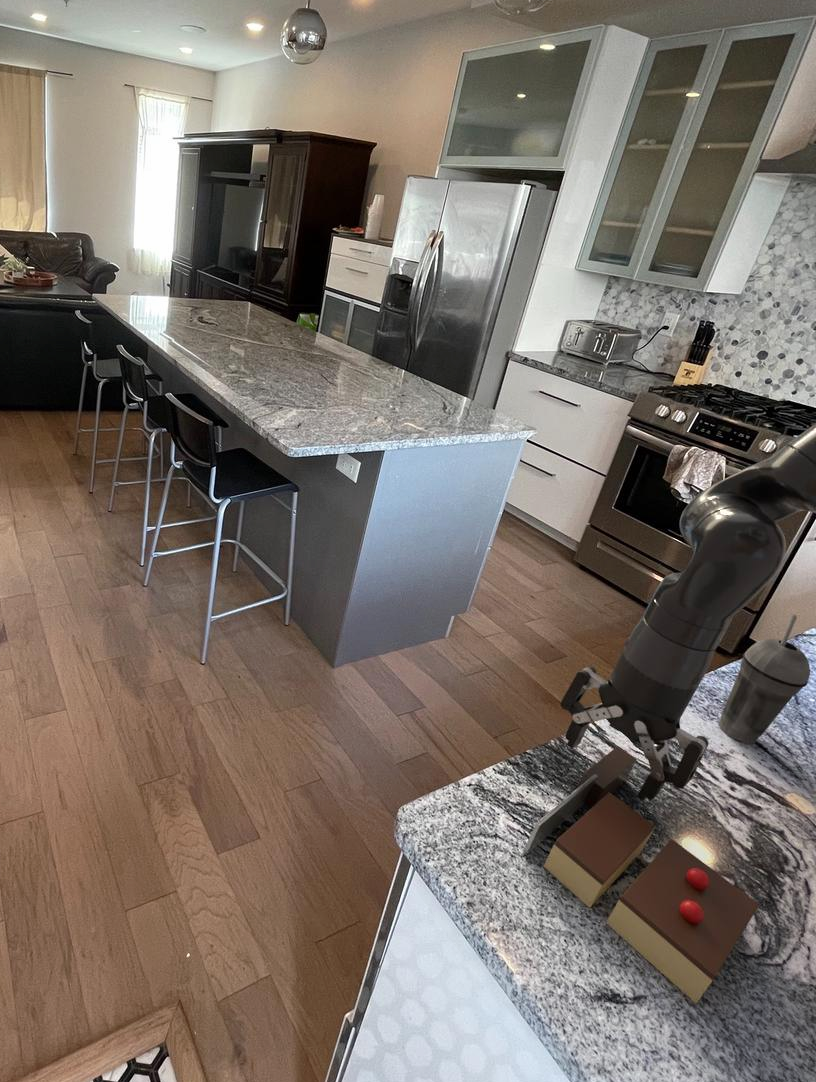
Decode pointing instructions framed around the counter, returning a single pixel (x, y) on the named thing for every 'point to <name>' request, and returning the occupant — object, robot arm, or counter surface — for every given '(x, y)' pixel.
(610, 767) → the knife
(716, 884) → the sheet cake
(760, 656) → the beverage cup
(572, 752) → the counter surface
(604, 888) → the cake slice
